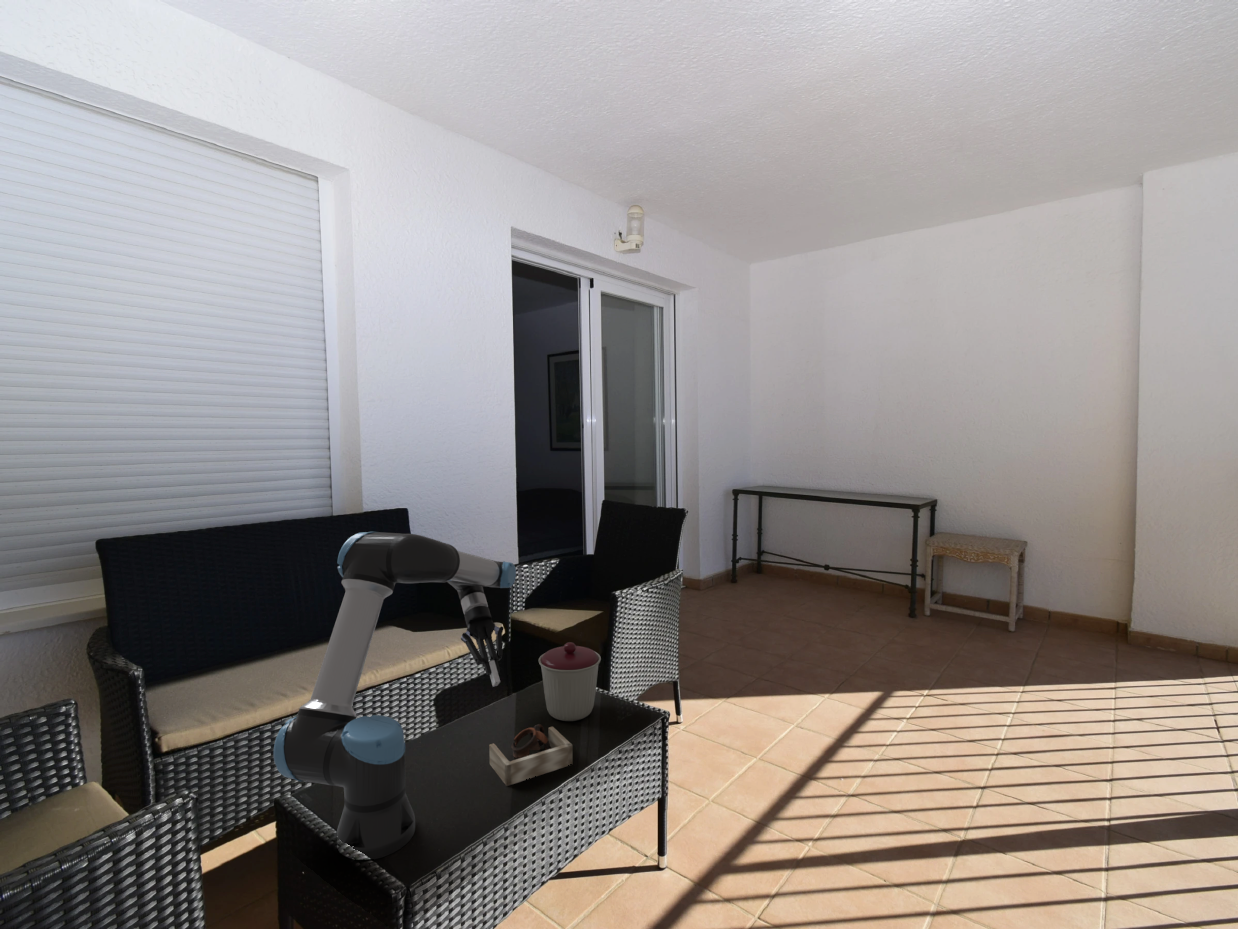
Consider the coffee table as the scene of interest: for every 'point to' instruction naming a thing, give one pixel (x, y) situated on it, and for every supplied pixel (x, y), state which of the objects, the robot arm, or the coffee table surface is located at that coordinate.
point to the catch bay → (533, 760)
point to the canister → (569, 681)
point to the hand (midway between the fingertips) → (496, 684)
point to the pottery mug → (533, 744)
